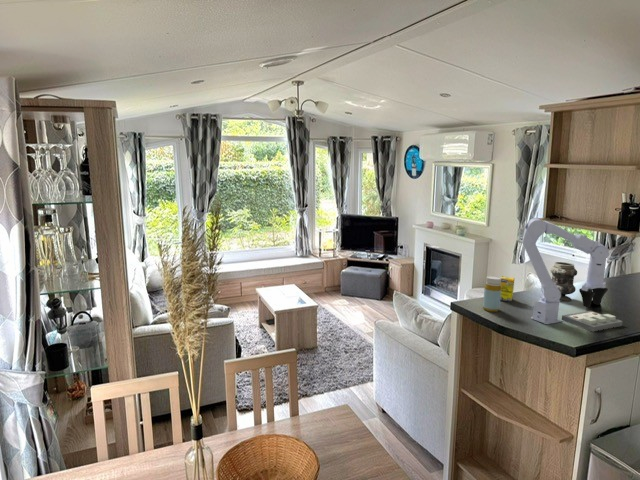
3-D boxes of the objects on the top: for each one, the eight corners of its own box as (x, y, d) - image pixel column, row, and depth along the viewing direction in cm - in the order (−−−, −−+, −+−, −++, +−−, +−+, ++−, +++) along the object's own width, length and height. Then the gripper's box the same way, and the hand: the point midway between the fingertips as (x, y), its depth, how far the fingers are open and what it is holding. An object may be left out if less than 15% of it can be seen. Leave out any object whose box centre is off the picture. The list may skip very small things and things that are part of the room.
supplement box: (498, 300, 214) (500, 278, 212) (499, 297, 219) (501, 275, 217) (511, 302, 211) (513, 280, 209) (512, 299, 216) (514, 277, 214)
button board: (592, 331, 176) (593, 326, 175) (561, 319, 188) (562, 314, 188) (622, 325, 183) (622, 320, 182) (590, 315, 195) (590, 310, 195)
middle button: (599, 324, 180) (600, 319, 180) (591, 321, 184) (592, 316, 183) (605, 323, 182) (606, 318, 181) (597, 320, 185) (598, 315, 185)
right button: (609, 322, 183) (610, 317, 182) (601, 320, 186) (602, 314, 186) (615, 321, 184) (615, 316, 184) (606, 319, 187) (607, 313, 187)
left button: (589, 326, 178) (590, 320, 178) (581, 323, 181) (582, 318, 181) (595, 325, 179) (596, 319, 179) (587, 322, 183) (588, 317, 182)
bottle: (479, 308, 201) (482, 276, 199) (490, 306, 204) (493, 275, 202) (491, 313, 195) (494, 280, 193) (502, 310, 198) (505, 278, 196)
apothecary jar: (570, 296, 223) (574, 261, 220) (577, 303, 212) (582, 267, 208) (544, 294, 226) (548, 259, 223) (549, 301, 215) (554, 265, 211)
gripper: (596, 277, 172) (592, 311, 174) (615, 273, 179) (610, 305, 182) (578, 273, 178) (574, 305, 180) (597, 269, 185) (593, 300, 188)
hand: (591, 305), depth 181 cm, fingers open, 7 cm apart
